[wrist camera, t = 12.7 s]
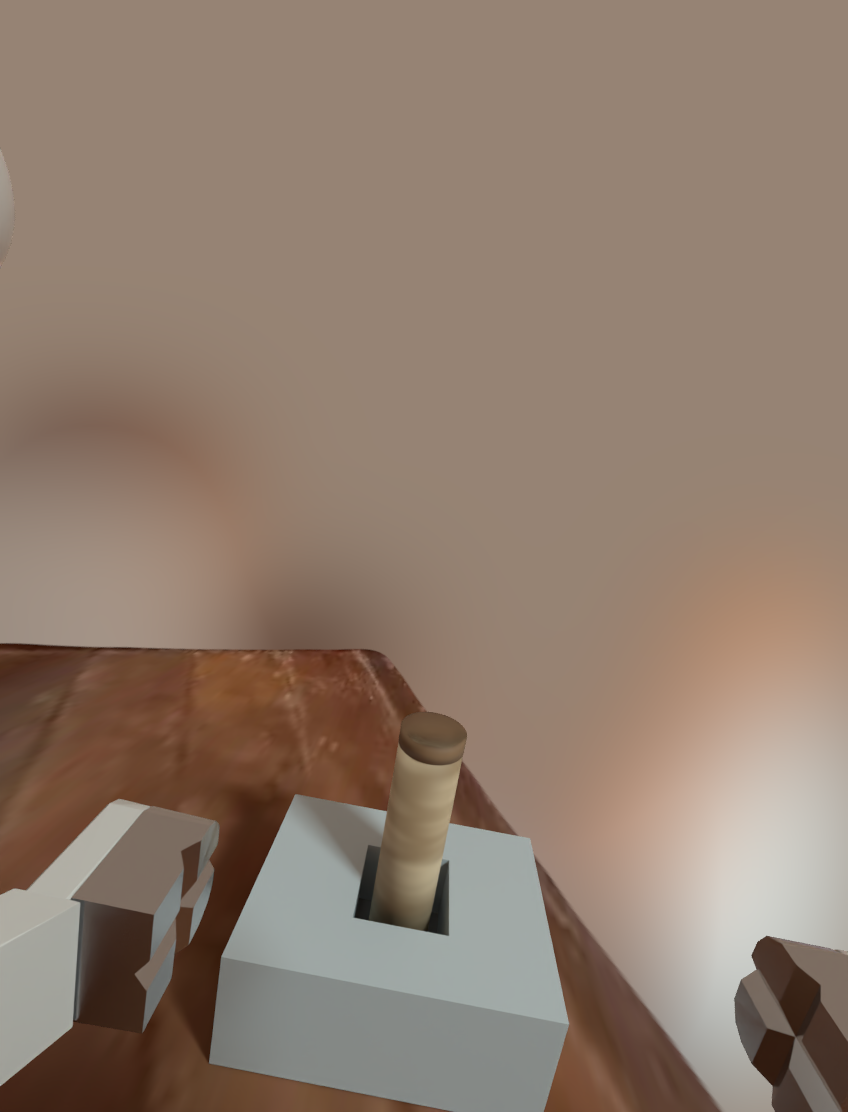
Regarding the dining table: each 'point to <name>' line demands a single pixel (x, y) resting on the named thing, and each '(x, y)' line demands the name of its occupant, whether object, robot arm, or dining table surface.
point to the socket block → (393, 971)
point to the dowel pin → (417, 819)
